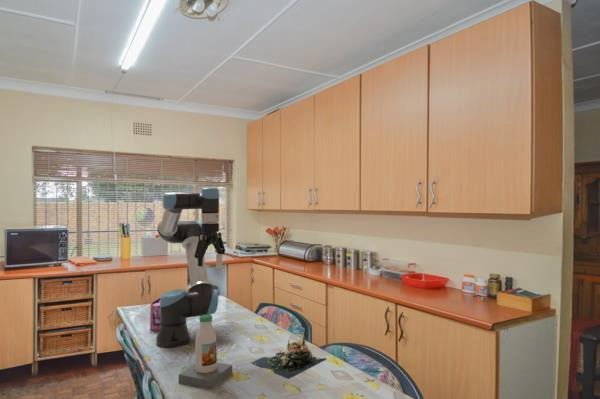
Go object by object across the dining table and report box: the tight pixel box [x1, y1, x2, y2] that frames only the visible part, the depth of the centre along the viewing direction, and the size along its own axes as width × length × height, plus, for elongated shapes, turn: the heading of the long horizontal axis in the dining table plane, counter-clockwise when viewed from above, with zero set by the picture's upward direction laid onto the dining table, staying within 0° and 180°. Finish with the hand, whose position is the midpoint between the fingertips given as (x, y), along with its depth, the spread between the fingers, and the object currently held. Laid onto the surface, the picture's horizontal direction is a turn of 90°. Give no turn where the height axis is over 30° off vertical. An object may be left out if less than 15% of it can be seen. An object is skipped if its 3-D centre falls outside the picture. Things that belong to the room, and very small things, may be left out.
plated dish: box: [250, 334, 327, 380], centre depth 166 cm, size 35×28×7 cm
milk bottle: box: [194, 314, 218, 373], centre depth 149 cm, size 8×8×20 cm
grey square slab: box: [178, 361, 233, 390], centre depth 149 cm, size 14×14×3 cm
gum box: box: [149, 297, 161, 331], centre depth 213 cm, size 24×8×14 cm, turn 176°
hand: (210, 271), depth 176 cm, fingers open, 13 cm apart
